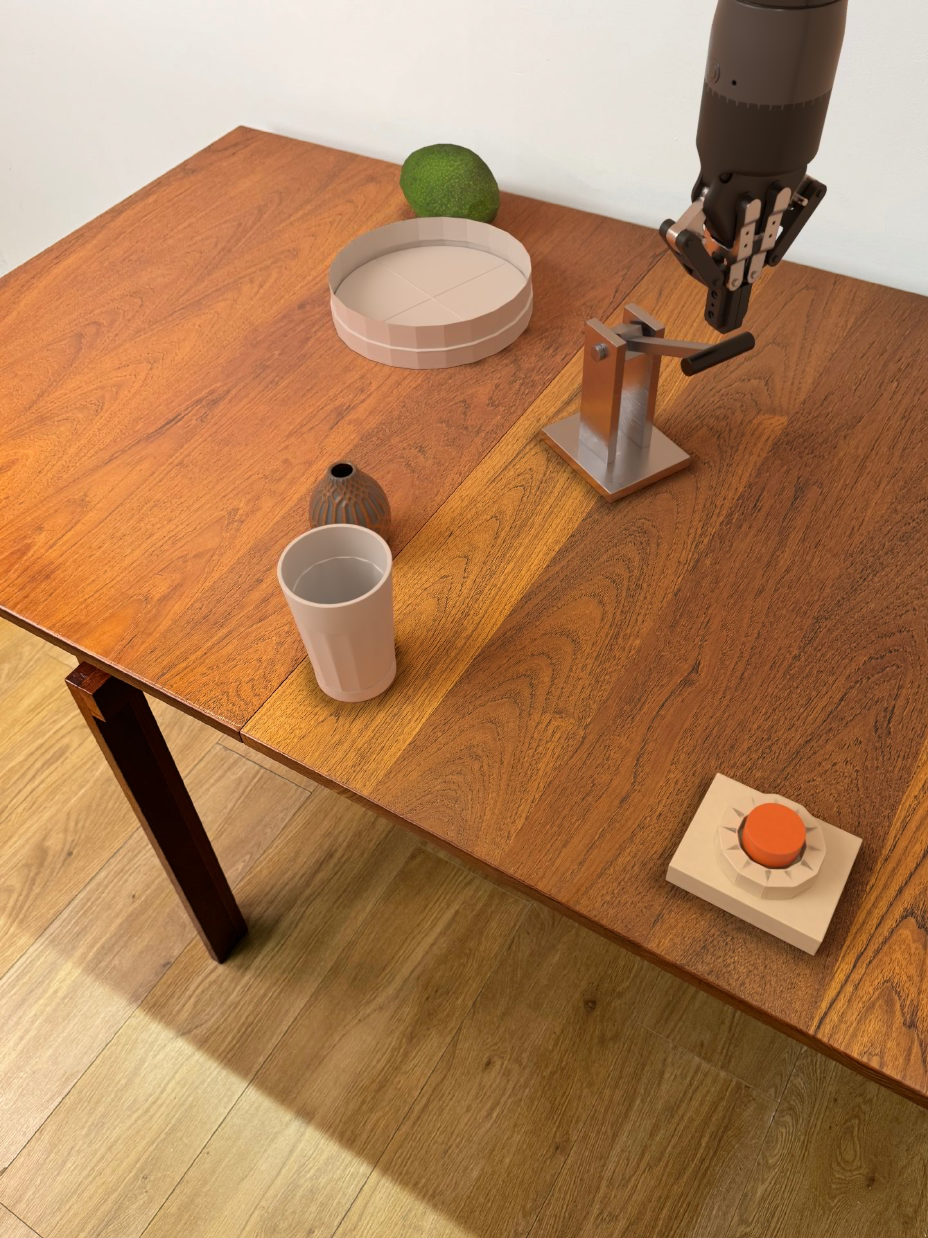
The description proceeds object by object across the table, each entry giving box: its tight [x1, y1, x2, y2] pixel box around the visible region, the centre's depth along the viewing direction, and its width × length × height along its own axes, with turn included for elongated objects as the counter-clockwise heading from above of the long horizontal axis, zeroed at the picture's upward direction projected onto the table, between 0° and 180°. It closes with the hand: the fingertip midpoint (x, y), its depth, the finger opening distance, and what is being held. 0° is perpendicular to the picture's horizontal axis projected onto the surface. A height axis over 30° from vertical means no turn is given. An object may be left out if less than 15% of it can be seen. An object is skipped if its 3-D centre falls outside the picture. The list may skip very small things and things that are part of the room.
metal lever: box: [608, 322, 756, 378], centre depth 79 cm, size 14×6×2 cm, turn 32°
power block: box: [665, 772, 863, 956], centre depth 64 cm, size 10×8×4 cm
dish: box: [327, 217, 534, 370], centre depth 108 cm, size 22×22×5 cm
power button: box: [742, 803, 806, 867], centre depth 62 cm, size 4×4×2 cm
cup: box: [276, 524, 397, 703], centre depth 73 cm, size 8×8×12 cm
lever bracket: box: [540, 302, 691, 504], centre depth 88 cm, size 11×9×14 cm
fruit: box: [399, 143, 501, 225], centre depth 118 cm, size 15×10×10 cm, turn 31°
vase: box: [308, 459, 392, 543], centre depth 83 cm, size 7×7×9 cm
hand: (723, 325), depth 72 cm, fingers closed
